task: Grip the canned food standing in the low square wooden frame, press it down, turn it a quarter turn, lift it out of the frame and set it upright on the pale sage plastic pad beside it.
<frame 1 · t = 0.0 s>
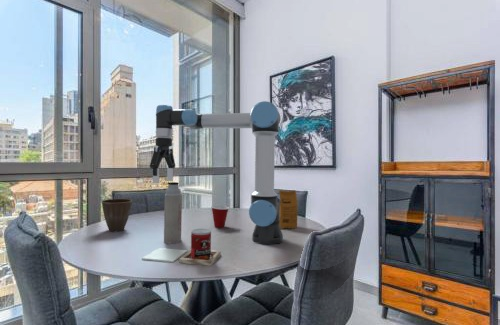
hand: (163, 182, 135), 28 cm above the table, tool pointing down, fingers open, 13 cm apart
plant pot: (116, 230, 154), on the table
canned food: (200, 259, 111), resting in square wooden frame
plastic cup: (219, 227, 165), on the table
thermos bottle: (172, 241, 135), on the table
coffee package: (285, 227, 167), on the table
square wooden frame: (200, 258, 111), on the table
sage pad: (165, 255, 114), on the table
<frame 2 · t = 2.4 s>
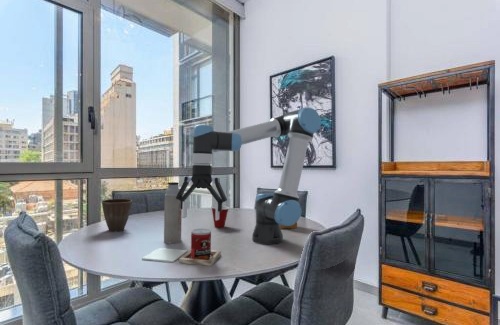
hand: (200, 218, 110), 16 cm above the table, tool pointing down, fingers open, 13 cm apart
nothing on the table moved.
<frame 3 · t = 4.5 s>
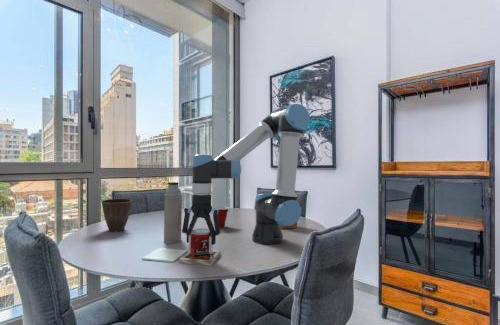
hand: (200, 251, 111), 3 cm above the table, tool pointing down, fingers closed on canned food, 8 cm apart
canned food: (200, 259, 111), resting in square wooden frame, touching gripper
everything else where it was.
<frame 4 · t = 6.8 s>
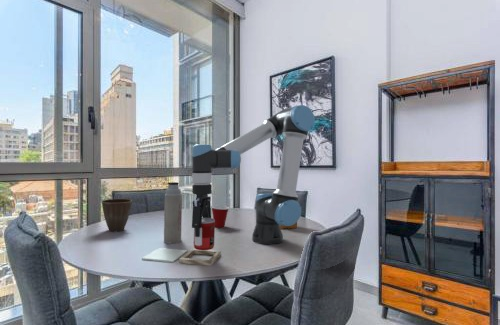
hand: (202, 241, 111), 7 cm above the table, tool pointing down, fingers closed on canned food, 8 cm apart
canned food: (203, 247, 111), point 4 cm above the table, touching gripper
everything else where it was.
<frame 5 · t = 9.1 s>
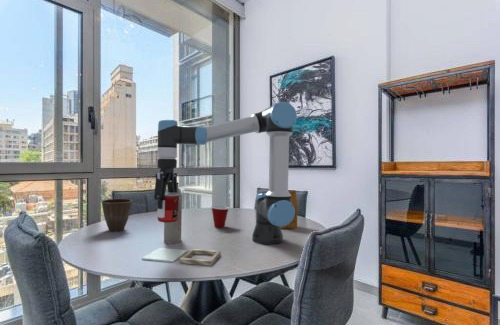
hand: (166, 214, 114), 16 cm above the table, tool pointing down, fingers closed on canned food, 8 cm apart
canned food: (167, 221, 113), point 14 cm above the table, touching gripper
everything else where it was.
when the fingers open (4 cm above the table, at t = 12.0 s): canned food drops 1 cm, resting on sage pad.
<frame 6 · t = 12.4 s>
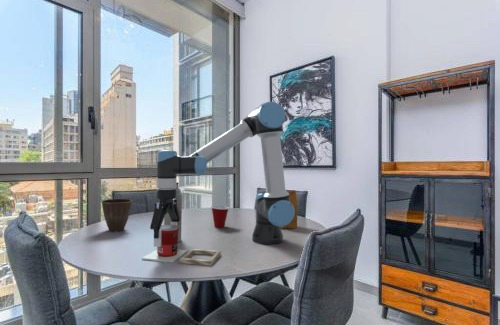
hand: (165, 241, 114), 6 cm above the table, tool pointing down, fingers open, 13 cm apart
canned food: (167, 254, 113), point 1 cm above the table, touching sage pad
everything else where it was.
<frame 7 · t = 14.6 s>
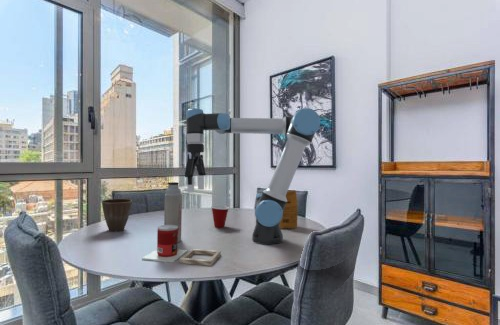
hand: (196, 190, 127), 25 cm above the table, tool pointing down, fingers open, 13 cm apart
nothing on the table moved.
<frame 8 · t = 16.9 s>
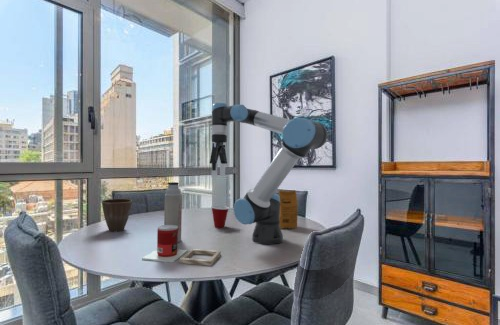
hand: (218, 176, 142), 31 cm above the table, tool pointing down, fingers open, 13 cm apart
nothing on the table moved.
at the end: canned food inside the target area on the sage pad (0.7 cm from its centre), point 0.4 cm above the sage pad's base; canned food tilted 0°; the gripper is holding nothing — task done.
